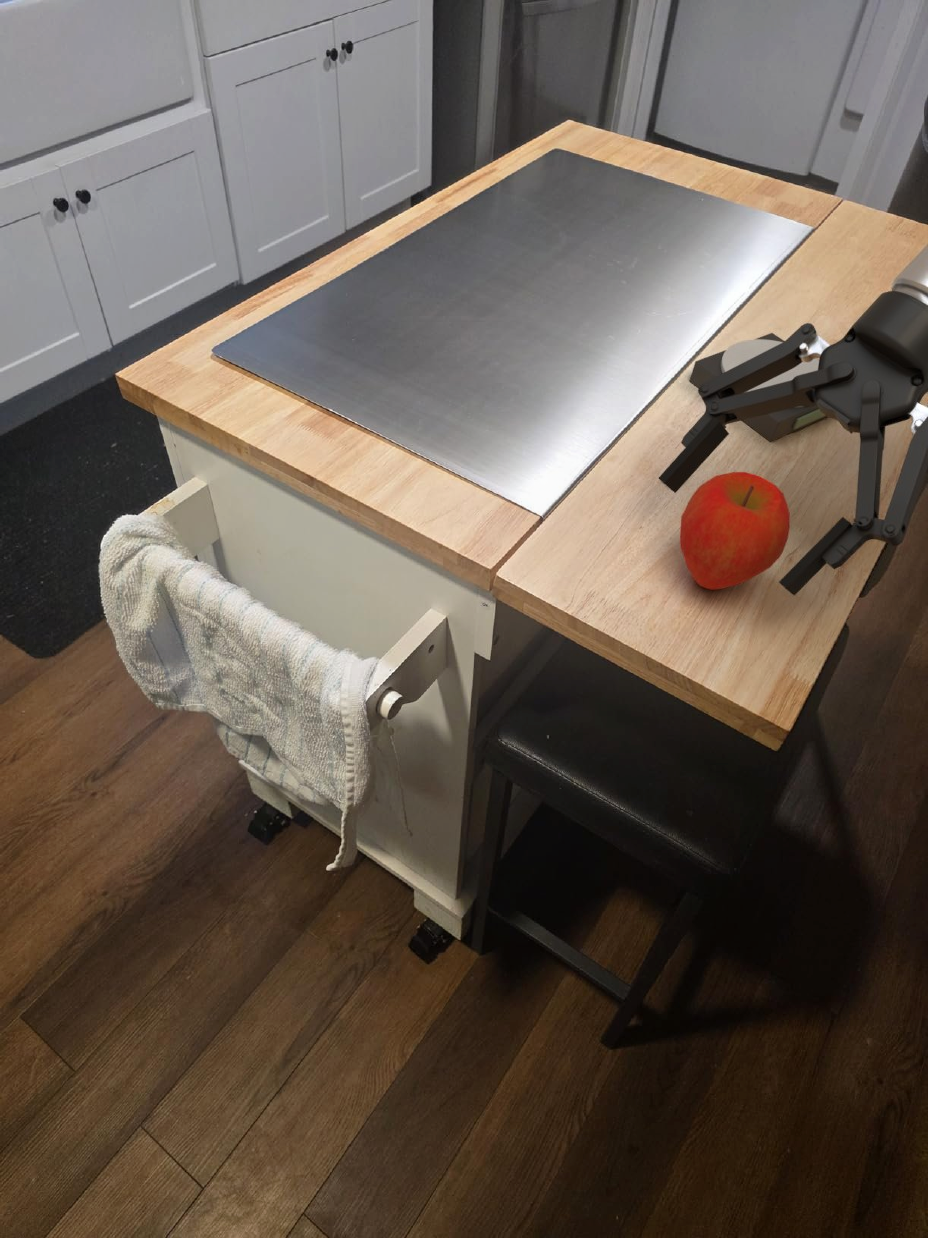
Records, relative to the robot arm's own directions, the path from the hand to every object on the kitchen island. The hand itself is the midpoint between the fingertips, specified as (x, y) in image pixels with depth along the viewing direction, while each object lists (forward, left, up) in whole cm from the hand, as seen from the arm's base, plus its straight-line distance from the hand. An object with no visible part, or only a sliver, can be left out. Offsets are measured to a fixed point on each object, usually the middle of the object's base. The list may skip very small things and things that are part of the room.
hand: (723, 535), depth 70 cm
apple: (0, -1, -6) cm, 6 cm away
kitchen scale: (+17, -26, -6) cm, 32 cm away
